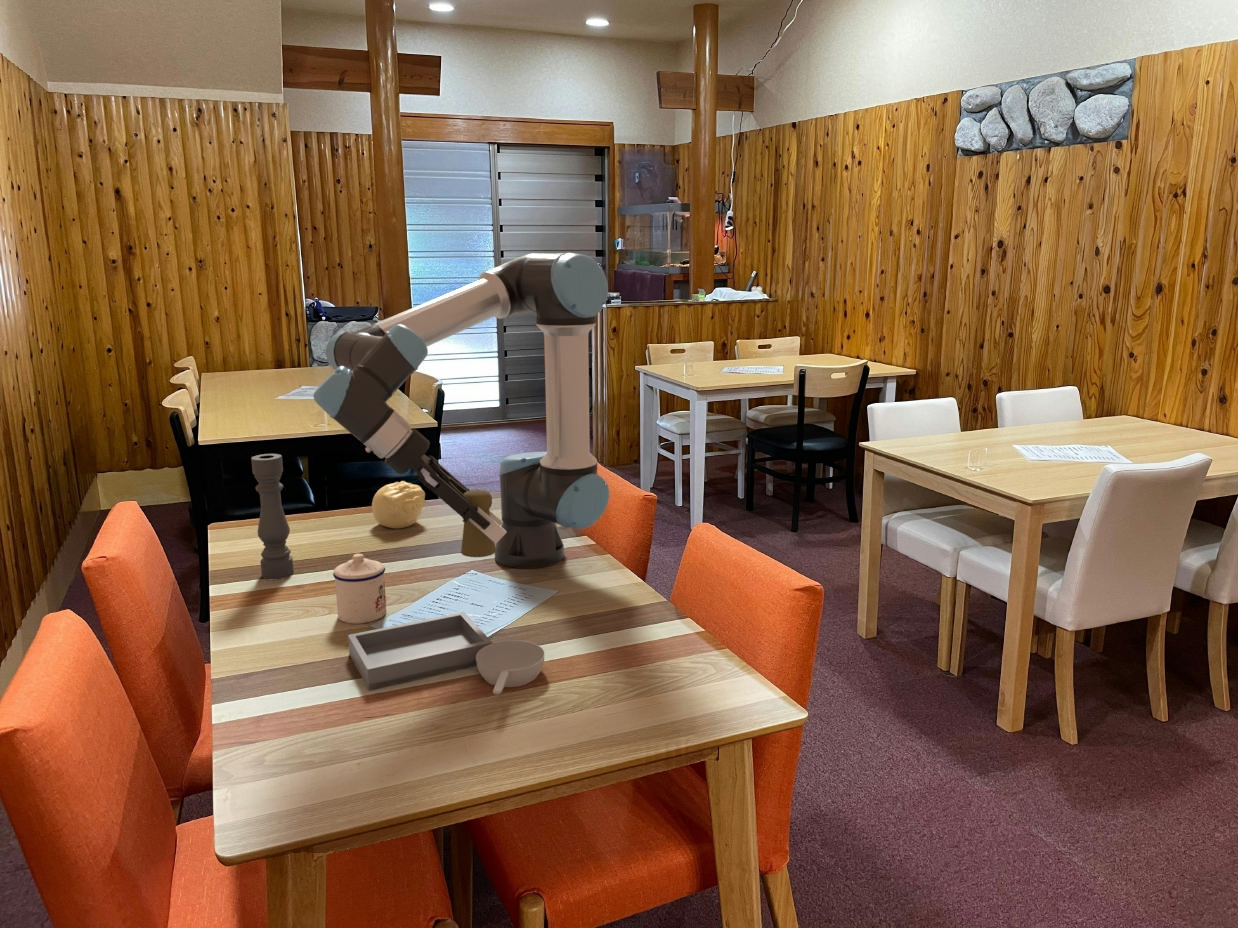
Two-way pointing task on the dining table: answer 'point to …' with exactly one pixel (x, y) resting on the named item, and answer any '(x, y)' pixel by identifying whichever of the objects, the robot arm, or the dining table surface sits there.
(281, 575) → the candle holder
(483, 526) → the robot arm
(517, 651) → the saucepan
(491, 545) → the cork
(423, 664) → the tray
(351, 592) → the teacup with lid
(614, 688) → the dining table surface
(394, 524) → the pale yellow lumpy ball
